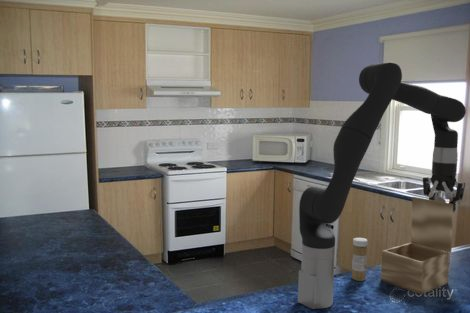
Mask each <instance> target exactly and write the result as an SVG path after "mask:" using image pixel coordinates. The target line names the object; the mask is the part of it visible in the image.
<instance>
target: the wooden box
mask: <svg viewBox="0 0 470 313" xmlns="http://www.w3.org/2000/svg"><path fill="white" fill-rule="evenodd" d="M381 253H382V254H381V271H380V275H381V276H380V281H381V282H384V283H387V284H389V285H392V286H395V287H398V288H401V289H404V290H406V291H409V292H411V293H415V294H417V295H423V294H425V293H427V292H430V291H433V290H435V289H437V288H440V287H442V286H444V285H447V284H449V276H450V274H449V273H450V262H451V261H450V260H451V253H448V252H445V251H441V250H437V249H434V248H430V247H426V246H422V245H419V244H415V243H412V242H408V243H404V244H401V245H397V246H394V247H390V248H387V249H384V250H382V252H381Z"/></svg>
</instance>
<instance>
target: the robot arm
mask: <svg viewBox="0 0 470 313" xmlns="http://www.w3.org/2000/svg"><path fill="white" fill-rule="evenodd" d="M402 79H403V72H402V69H401V67H400V65H399V64H398V63H396V62H395V61H394V62H393V61H385V62H378V63H375V64H374V63H373V64H369V65H367V66H365V67H364V68H363V69H362V70H361V71H360V73H359V76H358V83H359V87H360V89H361V90H362V91H363V92H365V93H366V94H368V96H367V97H366V99H365V100H364V102H363V103H362V104H361V105H360V106H359V107H358V108H357V109H356V110H355V111H354V112H352V113H351V115H349V117H348V118H347V119H346V120H345V121H344V122H343V124H342V125H341V128H340V129H339V131H338V134H337V136H336V138H335V140H334V143H333V163H334V168H333V173H332V176H331V178H330V181H329V182H328V185H327V187H326V188H322V187H318V186H310V187H307V188H306V189H305V190H304V191H303V192H302V194H301V196H300V199H299V205H298V206H299V208H298V210H299V211H298V213H299V214H298V215H299V220H298V221H299V234H300V236H301V269H300V270H298V282H297V283H298V284H297V285H298V287H297V303H299V304H301V305H303V306H305V307H308V308H309V309H311V310H315V309H327V308H330V307H332V306H333V304H334V303H333V302H334V283H335V282H334V281H335V280H334V279H335V278H334V277H335V254H336V253H335V252H336V236H335V234H334V232H332V231H331V230H330V228H329V227H328V226H327V225H329V224H333V223H335V222H336V221H337V220H338V219H339V217H340V216H341V214H342V212H343V211H344V207H345V205H346V202H347V199H348V196H349V193H350V191H351V188H352V184H353V183H354V179H355V176H356V175H357V172H358V171H359V170H358V169H359V168H360V165H361V163H362V160H363V158H364V156H365V155H366V153H367V151H368V148H369V146H370V144H371V142H372V141H373V137H374V135H375V133H376V131H377V129H378V126H379V125H380V122H381V121H382V118H383V116H384V114H385V113H386V110H387V109H388V107H389V105H390V104H391V102H392V101H396V102H399V103H401V104H403V105H406V106H409V107H410V108H413V109H416V110H418V111H420V112H422V113H425V114H428V115H430V119H431V123H432V129H433V132H434V142H433V144H434V145H433V146H434V147H433V152H432V162H431V163H432V164H431V177H429V176H427V177H423V178H422V189H423V195H424V196H427V197H428V199H429V200H435V199H436V198H437V197H436V196H437V194H438V193H439V192H444V193H445V194H446V196H448V199H449V201H448V203H450V204H453V213H454V212H455V211H456V206H457V205H456V204H457V201H458V202H459V201H462V200H463V197H464V191H465V187H466V183H465V182H460V181H458V180H457V171H458V161H459V160H458V143H459V142H458V140H459V132H458V131H457V130H455V129H453V128H451V127H450V125H449V123H457V122H460V121H461V120H463V119H464V118H465V116H466V113H467V110H466V107H465V105H464V103H463V102H462V101H460V100H459V99H456V98H453V97H449V96H445V95H441V94H438V93H437V92H435V91H432V90H430V89H429V88H427V87H424V86H420V85H417V84H412V83H408V82H403V81H402ZM431 183H432V187H431ZM454 187H455V188H456V190H455V188H454Z"/></svg>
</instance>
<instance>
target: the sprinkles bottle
mask: <svg viewBox="0 0 470 313" xmlns="http://www.w3.org/2000/svg"><path fill="white" fill-rule="evenodd" d="M352 240H353V241H352V246H353V248H352V262H351V263H352V264H351V266H352V267H351V268H352V271H351V274H352V275H351V279H352V280H354V281H357V282H363V281H365V280H366V279H367V278H366V271H367V255H368V254H367V249H368V248H367V247H368V242H369V241H368V239H367V238H366V237H365V238H364V237H353V239H352Z"/></svg>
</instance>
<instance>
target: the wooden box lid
mask: <svg viewBox="0 0 470 313" xmlns="http://www.w3.org/2000/svg"><path fill="white" fill-rule="evenodd" d="M411 198H412V200H411V239H410V240H411V242H410V243H415V244H419V245H423V246H426V247H430V248H433V249H437V250H441V251H444V252H448V253H450V254H451V253H452V248H453V246H452V244H453V242H452V241H453V220H454V218H453V217H454V212H453V204H450V203H449V202H446V199H445V198H444V197H442V196H438V197H435V198H436V199H435V200H429V198H423V197H422V198H421V197H416V196H412V197H411Z"/></svg>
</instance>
